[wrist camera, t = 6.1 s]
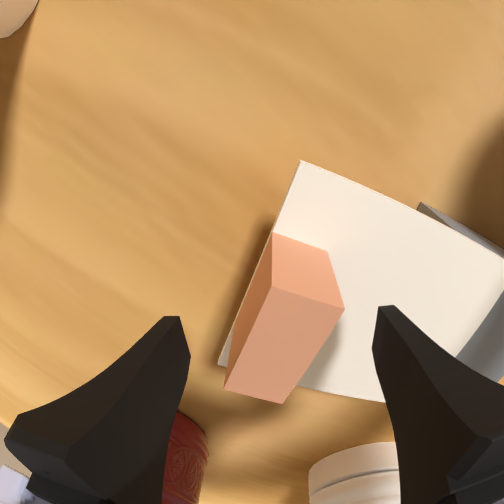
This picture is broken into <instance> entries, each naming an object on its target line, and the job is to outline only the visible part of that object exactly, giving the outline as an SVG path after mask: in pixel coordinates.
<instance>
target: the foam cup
mask: <svg viewBox="0 0 504 504" xmlns="http://www.w3.org/2000/svg"><path fill="white" fill-rule="evenodd" d="M37 2H38V0H0V39H1V38H6V37H9V36H10V35H11V34H12V33H14V32H15V31H16V30H17V29H19V28H20V27H21V26H22V25H23V24H24V22H25V21H26V20H27V18H28V17H29V16H30V14H31V13H32V12H33V10H34V9H35V7H36V4H37Z"/></svg>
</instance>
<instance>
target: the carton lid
mask: <svg viewBox="0 0 504 504" xmlns="http://www.w3.org/2000/svg"><path fill="white" fill-rule="evenodd" d="M503 290H504V258H502V257H500V256H499V255H497V254H495V253H494V252H492V251H490V250H489V249H487V248H485V247H483V246H482V245H480V244H478V243H477V242H475V241H473V240H471V239H469V238H468V237H466V236H464V235H462V234H460V233H459V232H457V231H455V230H453V229H451V228H449V227H448V226H446V225H444V224H442V223H440V222H438V221H436V220H434V219H432V218H430V217H428V216H426V215H424V214H422V213H420V212H418V211H416V210H414V209H412V208H410V207H408V206H406V205H404V204H402V203H400V202H398V201H396V200H394V199H392V198H389V197H387V196H385V195H383V194H381V193H379V192H376V191H374V190H372V189H370V188H368V187H365V186H363V185H361V184H359V183H356V182H354V181H352V180H349V179H347V178H345V177H342V176H340V175H338V174H335V173H333V172H330V171H328V170H325V169H323V168H320V167H318V166H315V165H313V164H310V163H308V162H305V161H303V160H299V162H298V165H297V167H296V170H295V172H294V175H293V177H292V180H291V182H290V185H289V187H288V190H287V192H286V195H285V197H284V200H283V202H282V205H281V207H280V210H279V212H278V215H277V217H276V220H275V222H274V225H273V227H272V230H271V232H270V235H269V237H268V239H267V242H266V244H265V247H264V249H263V252H262V254H261V257H260V259H259V262H258V264H257V267H256V269H255V271H254V274H253V276H252V279H251V281H250V284H249V286H248V289H247V291H246V293H245V296H244V298H243V301H242V303H241V306H240V308H239V310H238V313H237V315H236V318H235V320H234V323H233V325H232V327H231V330H230V332H229V335H228V337H227V340H226V342H225V344H224V347H223V349H222V352H221V354H220V356H219V359H218V364H217V365H220V366H224V367H227V370H226V376H225V382H224V388H223V389H224V390H228V391H232V392H235V393H239V394H243V395H247V396H251V397H255V398H259V399H263V400H267V401H271V402H276V403H280V404H283V402H284V401H285V400H286V398H287V397H288V395H289V394H290V393H291V391H292V390H293V388H294V387H295V386H300V387H305V388H309V389H314V390H318V391H323V392H328V393H333V394H338V395H344V396H349V397H355V398H360V399H366V400H372V401H379V402H385V398H384V395H383V392H382V389H381V386H380V383H379V380H378V376H377V373H376V369H375V364H374V359H373V354H372V342H373V337H374V331H375V324H376V318H377V311H378V306H387V305H395V306H396V307H397V308H398V309H399V310H400V311H401V312H402V313H403V314H405V315H406V316H407V317H408V318H409V319H410V320H411V321H412V322H413V323H414V324H415V325H416V326H417V327H419V328H420V329H421V330H422V331H423V332H424V333H425V334H426V335H427V336H429V337H430V338H431V339H432V340H433V341H434V342H436V343H437V344H438V345H439V346H440V347H442V348H443V349H444V350H446V351H447V352H448V353H449V354H451V355H452V356H453V357H456V356H457V355H458V353H459V352H460V351H461V350H462V348H463V347H464V346H465V345H466V343H467V342H468V341H469V339H470V338H471V337H472V335H473V334H474V333H475V331H476V330H477V329H478V327H479V326H480V324H481V323H482V322H483V320H484V319H485V317H486V316H487V315H488V313H489V312H490V310H491V309H492V307H493V306H494V304H495V303H496V301H497V300H498V298H499V297H500V295H501V293H502V292H503ZM385 403H386V402H385Z"/></svg>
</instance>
